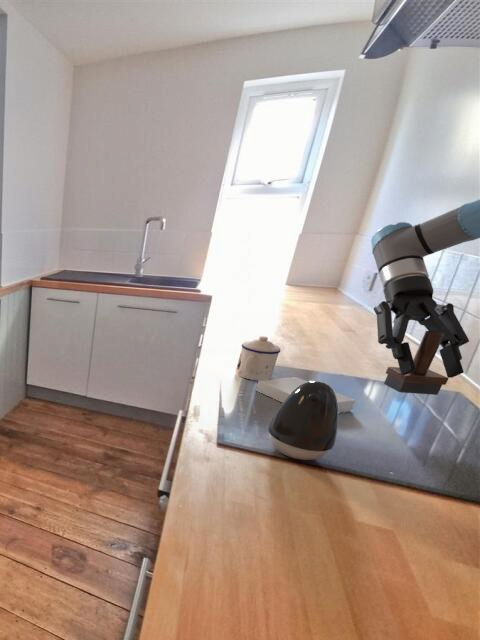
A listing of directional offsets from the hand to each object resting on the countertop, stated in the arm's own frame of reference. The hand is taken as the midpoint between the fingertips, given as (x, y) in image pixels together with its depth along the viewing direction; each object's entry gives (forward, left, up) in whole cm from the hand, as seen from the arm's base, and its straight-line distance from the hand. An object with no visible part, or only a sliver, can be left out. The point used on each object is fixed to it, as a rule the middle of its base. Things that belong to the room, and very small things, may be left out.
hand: (431, 373), depth 87 cm
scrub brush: (+3, -1, -5) cm, 6 cm away
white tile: (+15, +12, -12) cm, 23 cm away
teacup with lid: (+31, +11, -12) cm, 35 cm away
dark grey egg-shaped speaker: (-4, +36, -12) cm, 38 cm away
